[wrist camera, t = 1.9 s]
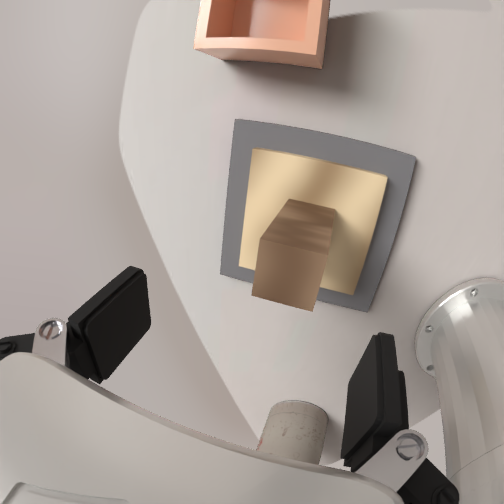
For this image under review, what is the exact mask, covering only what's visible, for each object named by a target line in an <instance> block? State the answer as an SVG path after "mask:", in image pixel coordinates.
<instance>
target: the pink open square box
mask: <svg viewBox="0 0 504 504" xmlns="http://www.w3.org/2000/svg"><path fill="white" fill-rule="evenodd" d="M329 8H330V0H201V3H200V9H199V15H198V21H197V27H196V34H195V40H194V47H193V49H195V50H198V51H201V52H203V53H206V54H208V55H211V56H214V57H216V58H219V59H221V60H239V61H257V62H270V63H281V64H290V65H298V66H305V67H312V68H319V69H322V67H323V59H324V51H325V43H326V35H327V26H328V17H329Z"/></svg>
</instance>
